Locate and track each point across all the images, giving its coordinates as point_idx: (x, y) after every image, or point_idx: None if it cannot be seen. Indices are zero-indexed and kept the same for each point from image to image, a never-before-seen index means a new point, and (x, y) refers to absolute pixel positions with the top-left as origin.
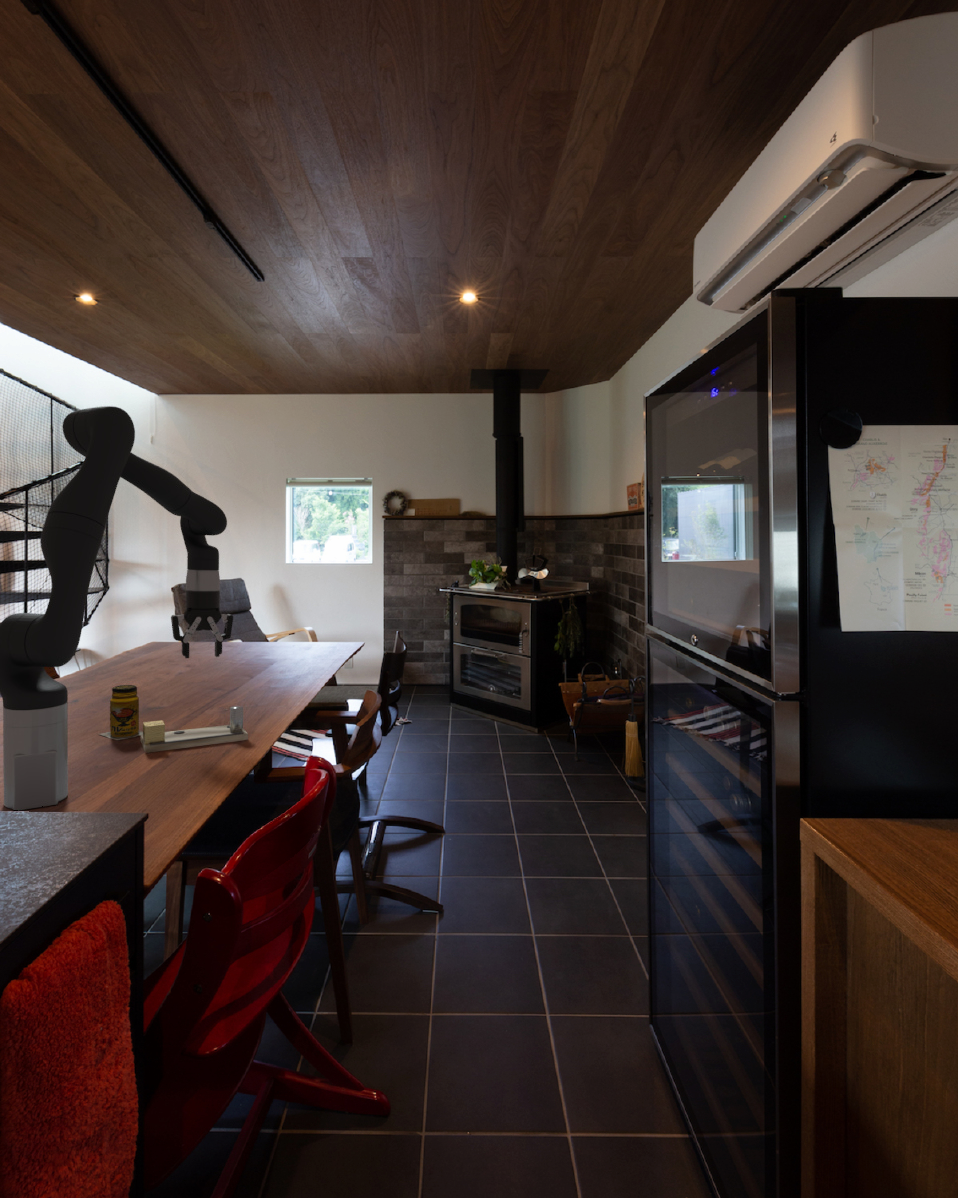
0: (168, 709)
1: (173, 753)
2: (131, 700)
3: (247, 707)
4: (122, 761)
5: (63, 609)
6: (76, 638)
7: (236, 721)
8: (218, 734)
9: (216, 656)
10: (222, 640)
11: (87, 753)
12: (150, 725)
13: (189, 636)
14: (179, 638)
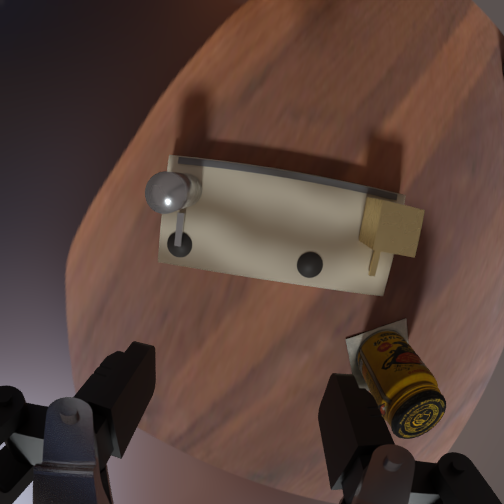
0: (244, 465)
1: (354, 152)
2: (410, 376)
3: None
4: (441, 167)
5: None
6: None
7: (182, 173)
8: (233, 189)
9: (153, 346)
10: (59, 399)
11: (465, 262)
12: (412, 213)
13: (374, 493)
14: (444, 467)
